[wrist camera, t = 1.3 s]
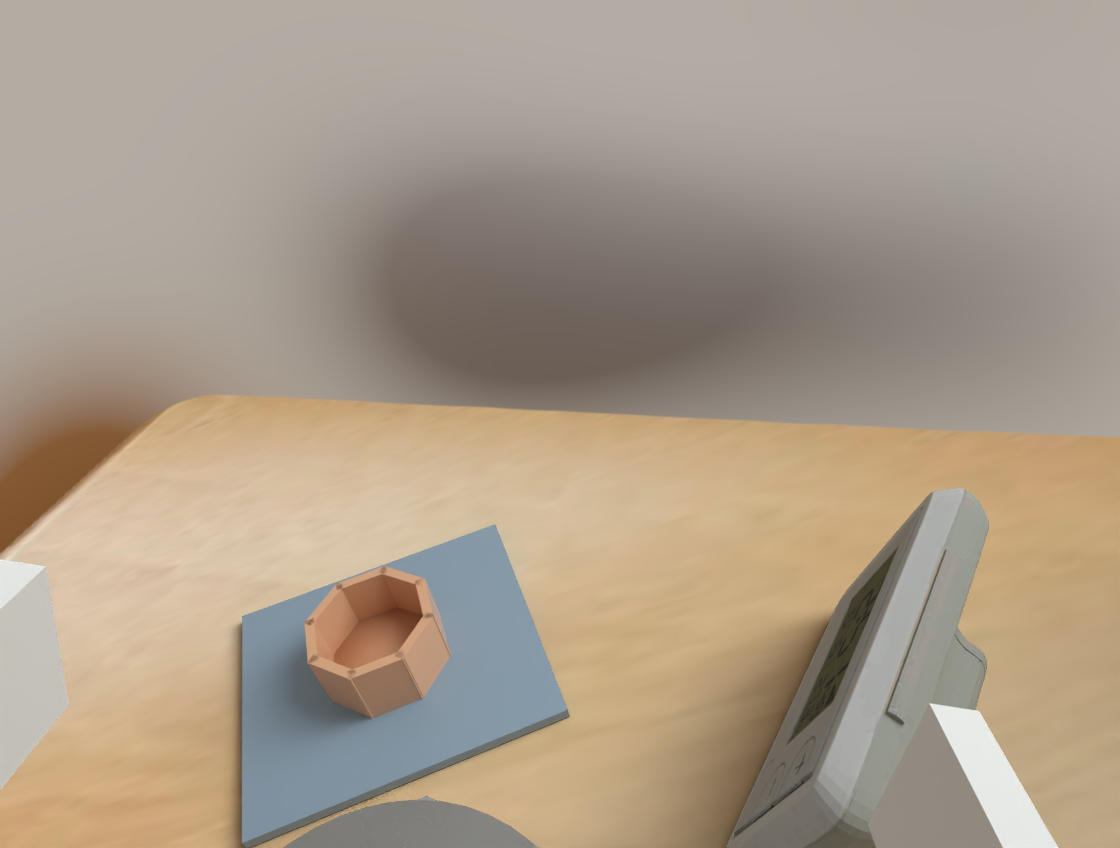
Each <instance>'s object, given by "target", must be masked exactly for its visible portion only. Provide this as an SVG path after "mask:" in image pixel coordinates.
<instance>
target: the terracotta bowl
mask: <svg viewBox="0 0 1120 848" xmlns="http://www.w3.org/2000/svg"><path fill="white" fill-rule="evenodd" d="M441 619H442V618H441V616H440V613H439V611H438V609H437V606H436V604H435V602H434V599H433V597H432V595H431V592H430V590H429V588H428V585H427V583H426V580H425V578H422V577H418V576H415V575H412V574H408V573H405V572H402V571H399V570H395V569H392V568H389V567H386V566H383V567H381V568H378V569H375V570H373V571H370V572H367V573H364V574H362V575H359V576H356V577H353V578H351V579H348V580H345V581H342V582H340V583H337V584H336V585H335V586H334V587H333V589H332V590H331V591H330V592H329V593H328V595H327V596H326V597H325V598H324V599H323V601H322V602H321V603H320V604H319V605H318V607H317V608H316V609H315V610H314V611H313V613H312V614H311V615H310V616H309V618H308V619H307V620H306V621H305V622H304V624H305V634H306V647H307V659H308V662H307V663H308V665H309V666H310V668H311V670H312V671H313V673H314V674H315V676H316V677H317V679H318V681H319V682H320V684H321V685H322V687H323V688H324V690H325V692H326V693H327V695H328V696H329V698H330V700H331V701H332V702H335V703H337V704H339V705H342V706H344V707H346V708H349V709H351V710H354V711H356V712H358V713H361V714H363V715H366V716H368V717H370V718H371V719H372V718H375V717H377V716H380V715H382V714H385V713H387V712H390V711H392V710H395V709H397V708H400V707H402V706H405V705H407V704H410V703H413V702H415V701H418V700H420V699H423V698H424V696H425V695H426V693H427V692H428V690H429V689H430V687H431V686H432V684H433V682H434V681H435V679H436V678H437V676H438V675H439V673H440V672H441V670H442V669H443V667H444V665H445V664H446V662H447V661H448V659H449V658H450V657H451V653H450V650H449V647H448V643H447V639H446V636H445V632H444V628H443V624H442V621H441Z"/></svg>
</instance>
